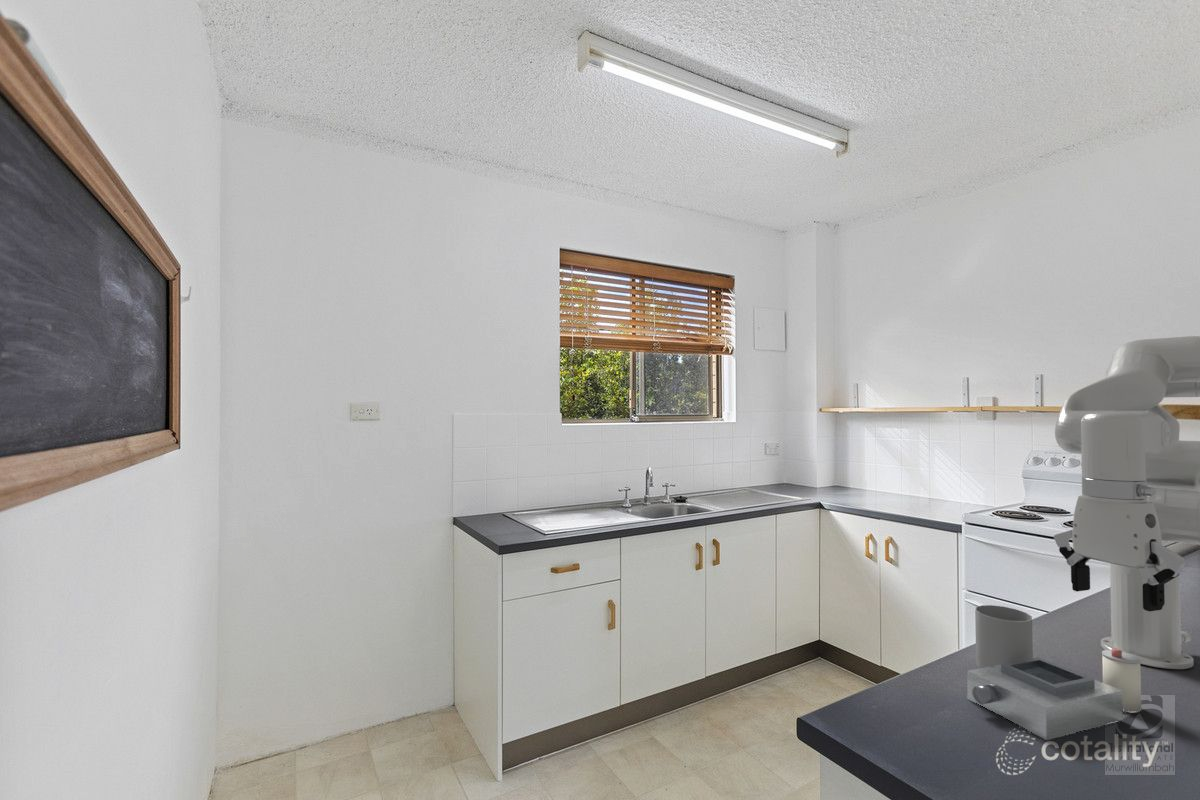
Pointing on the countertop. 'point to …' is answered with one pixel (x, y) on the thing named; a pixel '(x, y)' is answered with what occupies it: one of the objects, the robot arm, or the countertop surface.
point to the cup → (1002, 635)
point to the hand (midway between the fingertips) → (1115, 599)
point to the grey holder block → (1045, 697)
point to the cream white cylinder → (1123, 676)
